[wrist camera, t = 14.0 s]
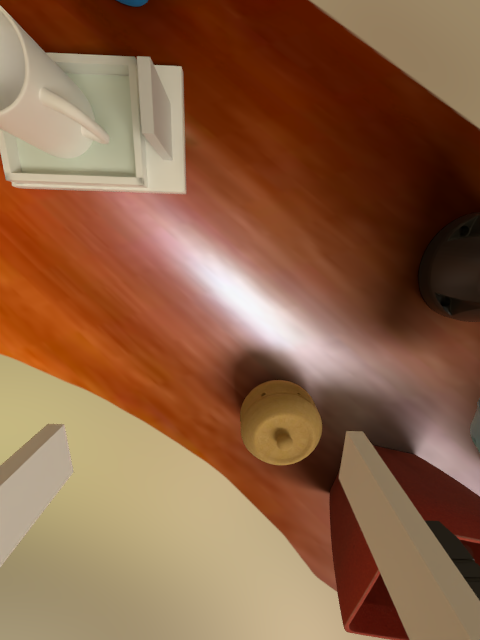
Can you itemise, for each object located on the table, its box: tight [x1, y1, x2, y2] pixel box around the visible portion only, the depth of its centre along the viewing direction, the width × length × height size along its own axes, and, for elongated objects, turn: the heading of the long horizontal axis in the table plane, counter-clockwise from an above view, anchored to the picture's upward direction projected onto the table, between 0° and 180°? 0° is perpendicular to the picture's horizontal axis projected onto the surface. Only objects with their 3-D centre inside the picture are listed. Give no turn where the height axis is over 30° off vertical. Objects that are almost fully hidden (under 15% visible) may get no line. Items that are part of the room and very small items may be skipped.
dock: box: [0, 53, 186, 194], centre depth 27 cm, size 22×13×8 cm, turn 88°
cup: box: [0, 5, 110, 159], centre depth 24 cm, size 8×12×10 cm
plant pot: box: [330, 445, 480, 640], centre depth 37 cm, size 19×19×17 cm
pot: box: [240, 380, 322, 465], centre depth 36 cm, size 12×12×10 cm
